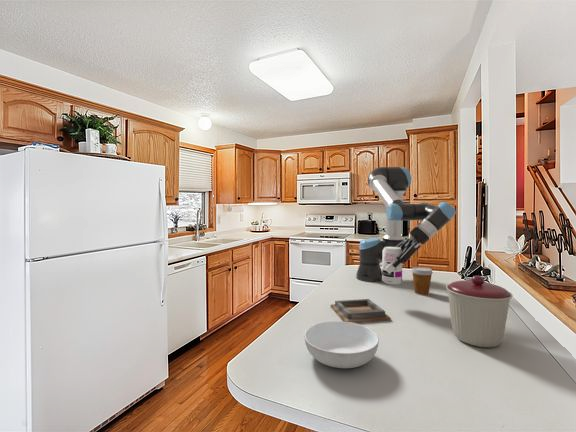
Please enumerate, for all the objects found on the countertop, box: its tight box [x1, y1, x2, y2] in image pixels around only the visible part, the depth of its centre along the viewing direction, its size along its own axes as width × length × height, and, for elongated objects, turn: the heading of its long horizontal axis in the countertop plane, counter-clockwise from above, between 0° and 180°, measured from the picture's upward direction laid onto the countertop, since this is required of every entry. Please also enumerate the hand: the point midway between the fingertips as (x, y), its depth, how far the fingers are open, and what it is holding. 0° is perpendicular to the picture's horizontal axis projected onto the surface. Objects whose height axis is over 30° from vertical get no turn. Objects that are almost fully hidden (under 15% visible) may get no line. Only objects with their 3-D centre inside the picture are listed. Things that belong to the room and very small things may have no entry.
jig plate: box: [330, 298, 392, 324], centre depth 121 cm, size 18×18×3 cm
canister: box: [445, 275, 514, 348], centre depth 97 cm, size 18×18×21 cm
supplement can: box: [381, 247, 403, 285], centre depth 130 cm, size 8×8×15 cm
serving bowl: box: [303, 320, 380, 369], centre depth 86 cm, size 21×21×7 cm
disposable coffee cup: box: [411, 266, 433, 296], centre depth 147 cm, size 10×10×12 cm
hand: (384, 268), depth 130 cm, fingers closed on supplement can, 8 cm apart
